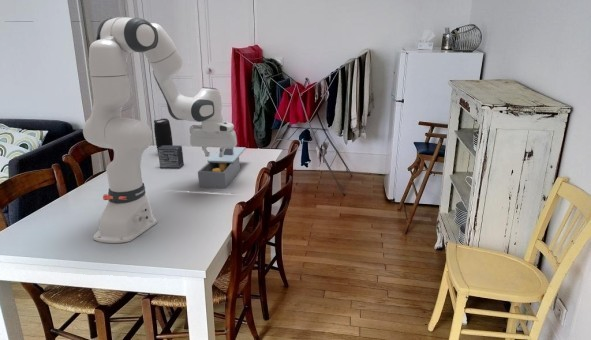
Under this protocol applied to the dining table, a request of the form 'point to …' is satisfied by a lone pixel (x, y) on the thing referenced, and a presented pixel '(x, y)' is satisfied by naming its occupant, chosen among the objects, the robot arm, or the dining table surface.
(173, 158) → the small box
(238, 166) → the block
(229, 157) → the lid
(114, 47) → the robot arm
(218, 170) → the peg
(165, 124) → the portable speaker
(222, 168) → the seated jaw
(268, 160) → the dining table surface
